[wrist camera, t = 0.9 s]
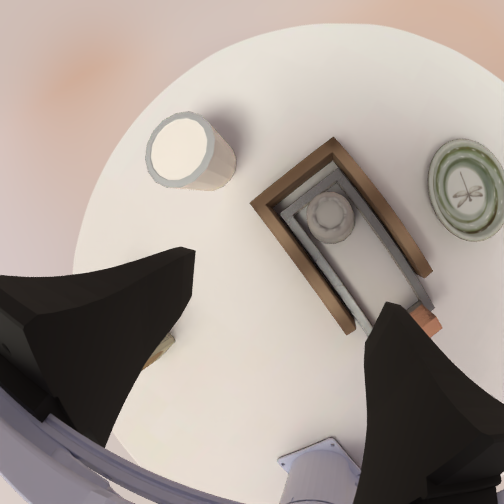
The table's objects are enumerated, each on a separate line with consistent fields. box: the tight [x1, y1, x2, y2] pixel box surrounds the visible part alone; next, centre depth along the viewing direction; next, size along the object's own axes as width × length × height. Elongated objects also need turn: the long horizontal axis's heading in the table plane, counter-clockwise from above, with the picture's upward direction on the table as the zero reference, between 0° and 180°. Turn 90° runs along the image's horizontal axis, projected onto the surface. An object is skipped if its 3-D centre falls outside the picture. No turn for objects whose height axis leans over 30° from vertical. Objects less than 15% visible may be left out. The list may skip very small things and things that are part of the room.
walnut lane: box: [250, 137, 433, 335], centre depth 25 cm, size 14×9×3 cm, turn 38°
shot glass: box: [145, 111, 236, 191], centre depth 26 cm, size 7×7×7 cm
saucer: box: [428, 139, 504, 242], centre depth 21 cm, size 10×10×2 cm
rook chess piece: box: [307, 192, 355, 244], centre depth 23 cm, size 4×4×8 cm
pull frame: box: [280, 168, 442, 337], centre depth 23 cm, size 16×7×6 cm, turn 38°
